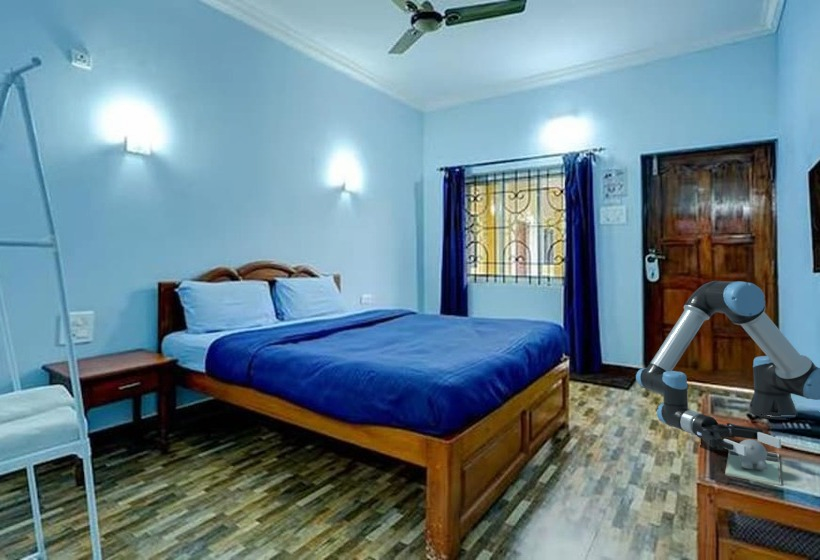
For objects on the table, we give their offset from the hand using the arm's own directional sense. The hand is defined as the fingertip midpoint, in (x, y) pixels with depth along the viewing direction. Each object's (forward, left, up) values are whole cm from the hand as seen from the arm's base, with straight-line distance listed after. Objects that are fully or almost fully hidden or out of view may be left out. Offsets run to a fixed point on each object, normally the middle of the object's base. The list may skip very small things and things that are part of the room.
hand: (763, 447), depth 139 cm
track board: (-3, -6, -8) cm, 10 cm away
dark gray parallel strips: (-9, -10, -7) cm, 16 cm away
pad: (0, -3, -7) cm, 8 cm away
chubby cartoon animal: (0, -4, -7) cm, 8 cm away
